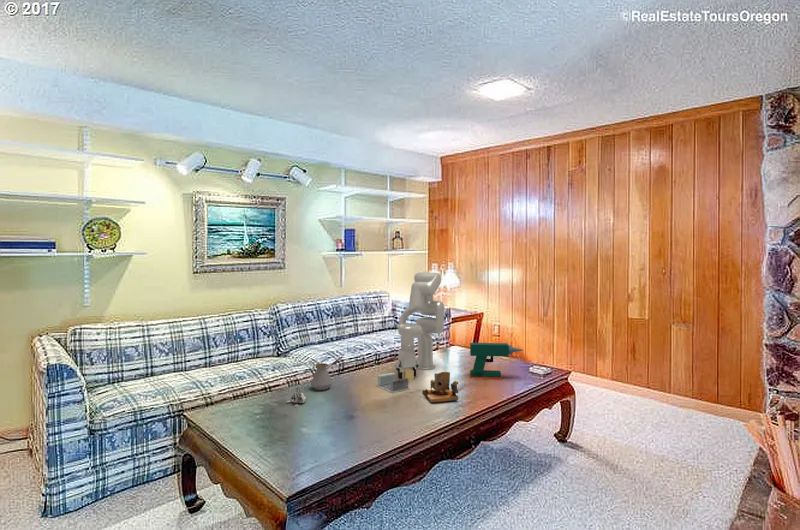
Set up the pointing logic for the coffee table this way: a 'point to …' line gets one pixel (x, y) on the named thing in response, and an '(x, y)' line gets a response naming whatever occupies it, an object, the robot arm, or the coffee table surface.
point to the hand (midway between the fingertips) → (407, 377)
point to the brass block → (408, 374)
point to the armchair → (441, 388)
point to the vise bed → (396, 385)
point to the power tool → (481, 354)
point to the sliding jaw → (386, 378)
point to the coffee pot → (322, 376)
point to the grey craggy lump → (298, 397)
